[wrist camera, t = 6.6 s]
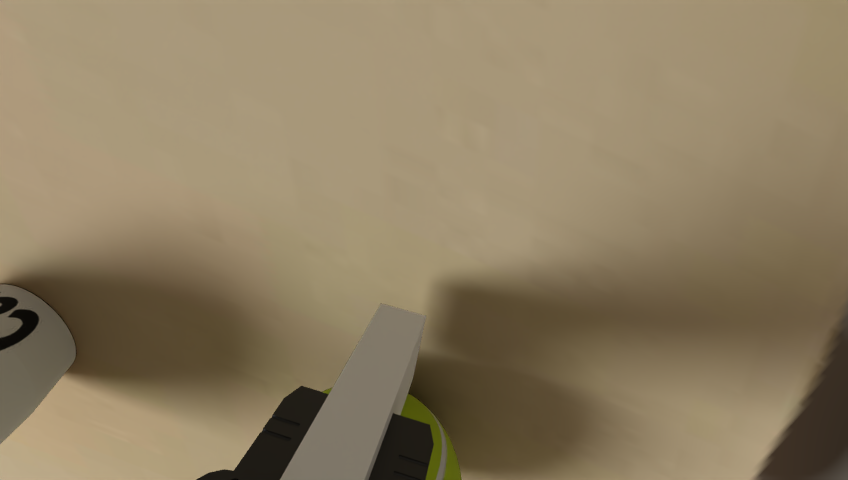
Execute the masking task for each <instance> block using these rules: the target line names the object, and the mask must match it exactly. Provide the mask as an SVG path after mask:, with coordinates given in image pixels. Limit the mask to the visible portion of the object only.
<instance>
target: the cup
mask: <svg viewBox="0 0 848 480" xmlns="http://www.w3.org/2000/svg"><path fill="white" fill-rule="evenodd" d="M75 357H76V347H75V343H74V340H73V337H72V335H71V333H70V331H69V329H68V328H67V326H66V324H65V323H64V322H63V320H62V319H61V318H60V317H59V315H58V314H57V313H56V312H55V311H54V310H53V309H52V308H51V307H50V306H49V305H48V304H46V303H45V302H44V301H43V300H41V299H40V298H38V297H37V296H35V295H34V294H32V293H30V292H28V291H26V290H24V289H22V288H19V287H16V286H13V285H7V284H0V444H1V443H2V442H3V441H4V440H5V439H6V438H7V437H8V436H9V435H10V434H11V433H12V432H13V431H14V430H15V429H16V428H17V427H19V426H20V425H21V424H22V423H23V422H24V421H25V420H26V419H27V418H28V417H29V416H30V415H31V414H32V413H33V412H34V410H35V409H36V408H37V407H38V405H39V404H40V403H41V402H42V401H43V399H44V398H45V397H46V396H47V394H48V393H49V392H50V391H51V389H52V388H53V387H54V386H55V385H56V383H57V382H58V381H59V380H60V378H61V377H62V376H63V375H64V374H65V372H66V371H67V370H68V369H69V367H70V366H71V365H72V364H73V362H74V360H75Z"/></svg>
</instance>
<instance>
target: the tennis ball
mask: <svg viewBox="0 0 848 480" xmlns="http://www.w3.org/2000/svg"><path fill="white" fill-rule="evenodd" d="M331 390H332V388H330V389H327V390H325V391H323V393H326V394H329V393H330V391H331ZM401 416H404V417H407V418H410V419H413V420H417V421H420V422H423V423H426V424H430V427H431V432H432V437H433V442H434V446H433V450H432V454H431V459H430V463H429V467H428V471H427V476H426V480H461V473H460V468H459V464H458V460H457V456H456V453H455V451H454V448H453V445H452V443H451V441H450V438H449V436H448V435H447V433H446V431H445V429H444V428H443V426H442V424H441V423H440V422H439V420H438V419H437V418H436V417H435V415H434V414H433V413H432V412H431V411H430V410H429V409H428V408H427V407H426V406H425V405H424V404H422V403H421V402H420V401H419V400H417V399H416V398H414V397H413V396H411V395H410V394H408V395H407V397H406V400H405V403H404V406H403V409H402V412H401Z"/></svg>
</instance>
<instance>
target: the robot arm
mask: <svg viewBox="0 0 848 480" xmlns="http://www.w3.org/2000/svg"><path fill="white" fill-rule="evenodd" d="M425 319H426V316H425V315H422V314H418V313H414V312H411V311H407V310H404V309H400V308H396V307H393V306H389V305H386V304H382V303H381V304H380V306H379V308H378V309H377V311H376V313H375V314H374V316H373V318H372V320H371V321H370V323H369V325H368V327H367V328H366V330H365V332H364V334H363V335H362V337H361V339H360V341H359V342H358V344H357V346H356V348H355V349H354V351H353V353H352V355H351V356H350V358H349V360H348V362H347V363H346V365H345V367H344V369H343V370H342V372H341V374H340V376H339V377H338V379H337V381H336V383H335V384H334V386H333V388H332V390H331V391H330V393H329V394H326V393H323V392H320V391H317V390H313V389H310V388H307V387H304V386H301V387H299V388H298V389H296V390H295V391H294V392H292V393H291V394H289V395H288V396H287V397H285V398H284V399H283V401H282V402H281V404H280V405H279V406H278V408H277V409H276V411H275V412H274V414H273V416H272V418H270V419H269V421H268V422H267V424H266V425H265V427H264V428H263V431H262V432H260V434H259V435H258V437H257V438H256V440H255V441H254V443H253V444H252V445H251V447H250V448H249V450H248V451H247V453H246V454H245V455H244V457H243V458H242V460H241V461H240V463H239V464H238V466H237V467H236V468H235V470H234V471H231V470H220V471H215V472H210V473H208V474H206V475H204V476H202V477H200V478H198V479H197V480H426V476H427V471H428V467H429V463H430V459H431V454H432V450H433V446H434V442H433V437H432V432H431V427H430V424H426V423H423V422H420V421H417V420H413V419H410V418H407V417H404V416H401V412H402V409H403V406H404V403H405V400H406V397H407V395H408V392H409V389H410V386H411V383H412V380H413V376H414V371H415V367H416V362H417V357H418V352H419V348H420V343H421V338H422V333H423V329H424V324H425Z"/></svg>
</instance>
